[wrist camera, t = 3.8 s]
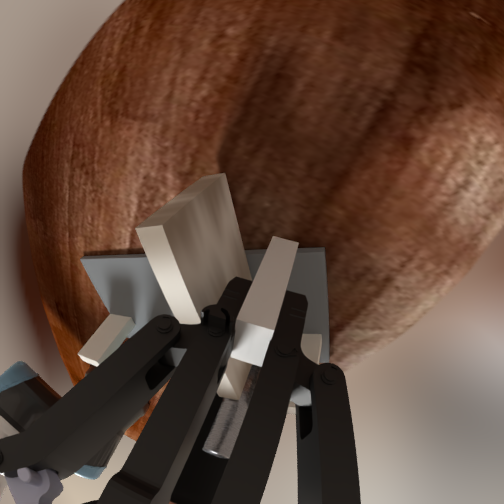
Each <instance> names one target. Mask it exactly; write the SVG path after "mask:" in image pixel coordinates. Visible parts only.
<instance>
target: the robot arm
mask: <svg viewBox="0 0 504 504" xmlns="http://www.w3.org/2000/svg"><path fill="white" fill-rule="evenodd" d="M298 244H299V243H298V242H294V241H291V240H287V239H283V238H279V237H276V236H273V237H272V239H271V242H270V244H269V246H268V249H267V251H266V253H265V255H264V258H263V260H262V262H261V264H260V267H259V269H258V271H257V274H256V276H255V278H254V280H253V281H251V280H247V279H244V278H240V277H237V276H236V277H235V278H233V279H232V280H230V281H229V282H228V284H227V286H226V288H225V290H224V291H223V293H222V296H221V297H220V299H219V300H218V302H217V304H213V305H208V306H206V307H204V308H203V309H202V310H201V323H199V324H180V323H179V320H178V319H176V318H175V317H174V316H171V315H167V314H162V315H158V316H156V317H154V318H153V319H152V320H150V321H149V322H148V323H147V324H146V325H145V326H143V327H142V328H141V329H140V330H139V331H138V332H136V333H135V334H134V335H133V336H132V337H131V338H129V339H128V340H127V341H126V342H125V343H124V344H122V345H121V346H120V347H119V348H118V349H117V350H115V351H114V352H113V353H112V354H111V355H110V356H109V357H107V358H106V359H105V360H104V361H103V362H102V363H101V364H99V365H98V366H94V365H91V366H90V368H89V369H88V370H87V372H86V374H85V378H83V379H82V380H81V381H80V382H79V383H78V384H77V385H75V386H74V387H73V388H72V389H71V390H70V391H69V392H68V393H66V394H65V395H64V396H63V397H61V396H60V395H59V394H58V393H56V392H55V391H54V390H53V389H52V388H51V387H50V386H49V385H48V384H47V383H46V382H45V381H44V380H43V379H41V377H40V376H39V374H38V373H36V372H35V371H33V370H32V369H31V368H30V367H29V366H28V365H27V364H26V363H25V362H22V361H18V362H16V363H15V364H13V365H12V366H11V367H10V368H9V369H7V370H6V371H5V372H4V373H3V374H2V375H1V376H0V500H1V498H2V495H3V493H4V491H5V489H6V486H7V485H8V486H9V489H10V491H11V494H12V496H13V498H14V500H15V503H16V504H52V501H53V500H54V499H55V498H56V497H57V496H59V495H60V493H61V492H62V491H63V485H62V483H61V482H60V480H62V479H65V478H67V477H69V476H71V475H72V474H76V475H78V476H81V477H84V478H87V479H97V478H98V477H99V476H100V475H101V473H102V472H103V470H104V469H105V468H106V467H107V464H108V462H109V460H110V458H111V456H112V455H113V453H114V451H115V449H116V447H117V445H118V444H119V442H120V440H121V438H122V436H123V435H124V433H125V431H126V430H127V429H128V428H129V427H130V426H131V425H133V424H134V423H135V422H136V421H137V420H138V419H139V418H140V417H142V416H144V415H145V413H146V412H147V410H148V408H149V404H148V401H149V400H150V399H151V398H152V397H153V396H154V395H155V394H156V393H157V392H158V391H159V390H160V389H161V388H162V387H163V386H164V385H165V384H166V383H167V382H168V380H169V379H170V378H171V379H170V381H169V383H168V385H167V386H166V388H165V390H164V392H163V394H162V395H161V397H160V399H159V401H158V403H157V405H156V406H155V408H154V410H153V412H152V414H151V416H150V418H149V419H148V421H147V423H146V425H145V427H144V429H143V430H142V432H141V434H140V436H139V438H138V440H137V442H136V443H135V445H134V447H133V449H132V451H131V453H130V455H129V456H128V459H127V460H126V462H125V464H124V466H123V467H122V469H121V470H120V471H119V472H118V473H117V474H115V475H113V476H112V478H111V479H110V480H109V482H108V483H107V485H106V487H105V489H104V491H103V493H102V494H101V496H100V498H99V500H94V501H90V502H87V503H83V504H169V502H170V498H171V494H172V492H173V489H174V487H175V485H176V483H177V481H178V479H179V476H180V474H181V472H182V470H183V468H184V465H185V463H186V461H187V459H188V456H189V454H190V452H191V450H192V447H193V445H194V443H195V441H196V438H197V436H198V434H199V432H200V429H201V427H202V425H203V422H204V420H205V418H206V415H207V413H208V411H209V408H210V406H211V404H212V401H213V399H214V397H215V394H216V392H217V390H218V387H219V385H220V383H221V380H222V378H223V376H224V373H225V371H226V368H227V364H228V360H229V357H230V355H231V358H235V359H238V360H241V361H244V362H247V363H250V364H254V365H257V366H261V370H260V373H259V376H258V379H257V382H256V385H255V388H254V391H253V394H252V397H251V400H250V403H249V405H248V408H247V411H246V414H245V417H244V420H243V422H242V425H241V428H240V431H239V434H238V436H237V439H236V442H235V444H234V447H233V450H232V452H231V455H230V458H229V460H228V463H227V465H226V468H225V471H224V473H223V476H222V478H221V481H220V483H219V486H218V488H217V491H216V493H215V496H214V498H213V500H212V503H211V504H260V502H261V499H262V496H263V493H264V490H265V486H266V484H267V480H268V477H269V474H270V471H271V467H272V464H273V461H274V457H275V454H276V451H277V447H278V444H279V440H280V436H281V433H282V429H283V426H284V422H285V418H286V414H287V410H288V406H289V402H290V401H292V402H294V403H295V408H296V430H297V431H296V432H297V464H298V465H297V469H298V504H361V501H360V486H359V475H358V466H357V456H356V447H355V439H354V432H353V424H352V417H351V411H350V405H349V397H348V391H347V386H346V380H345V376H344V373H343V371H342V370H341V369H340V368H339V367H338V366H336V365H335V364H331V363H323V364H320V365H318V364H316V363H315V362H313V361H311V360H310V359H308V358H307V357H306V356H305V355H304V353H303V352H302V349H301V339H302V334H303V329H304V324H305V319H306V314H307V308H308V301H307V298H306V295H303V294H299V293H295V292H292V291H288V290H286V288H287V285H288V281H289V278H290V274H291V270H292V267H293V263H294V259H295V255H296V252H297V248H298Z"/></svg>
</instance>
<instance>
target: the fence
mask: <svg viewBox="0 0 504 504" xmlns="http://www.w3.org/2000/svg"><path fill="white" fill-rule="evenodd" d="M134 326H135V323H134V321H133V320H132V318H131V317H126V316H120V315H115V314H110V315H109V316H108V317H107V318H106V319H105V321H104V322H103V323H102V324H101V325H100V327H99V328H98V329H97V330H96V331H95V333H94V334H93V335H92V336H91V338H90V339H89V340H88V341H87V343H86V344H85V345H84V346H83V348H82V349H81V350H80V351H79V353H78V355H79V356H80V357H81V359H82V360H83V361H85V362H87V363H89V364H92V365H94V366H98V365H99V364H101V363H102V362H103V361H104V360H105V359H106V358H107V357H109V356H110V355H111V354H112V353H113V352H114V351H115V350H117V349H118V348H119V347H120V345H121V344H122V343H123V341H124V340H125V338H126V337H127V336H128V334H129V333H130V332H131V330H132V329H133V328H134ZM321 346H322V335H321V334H302V339H301V349H302V352H303V353H304V355H305V356H306V357H307V358H308V359H310V360H311V361H313V362H315V363H316V364H318V365H319V360H320V353H321ZM287 414H295V415H296V408H295V403H294V402H292V401H290V402H289V406H288V410H287Z"/></svg>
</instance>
